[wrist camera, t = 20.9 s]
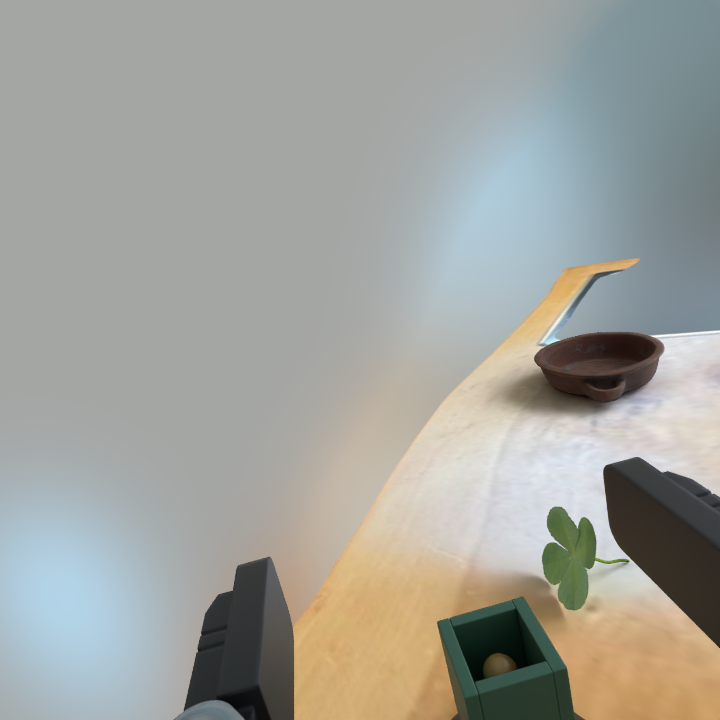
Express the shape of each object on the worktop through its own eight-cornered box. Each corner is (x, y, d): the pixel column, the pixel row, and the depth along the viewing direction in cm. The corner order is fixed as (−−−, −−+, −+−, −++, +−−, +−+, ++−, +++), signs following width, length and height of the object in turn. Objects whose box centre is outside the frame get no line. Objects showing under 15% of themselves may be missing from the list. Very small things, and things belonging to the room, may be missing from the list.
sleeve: (588, 806, 28) (567, 667, 25) (495, 835, 27) (464, 698, 25) (544, 719, 32) (523, 596, 30) (464, 743, 32) (436, 620, 30)
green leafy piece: (606, 626, 45) (541, 616, 43) (589, 531, 50) (529, 518, 48) (678, 613, 40) (606, 601, 38) (650, 507, 44) (585, 491, 42)
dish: (536, 416, 74) (531, 383, 73) (539, 362, 94) (535, 335, 93) (682, 406, 68) (679, 368, 66) (652, 350, 87) (650, 320, 86)
